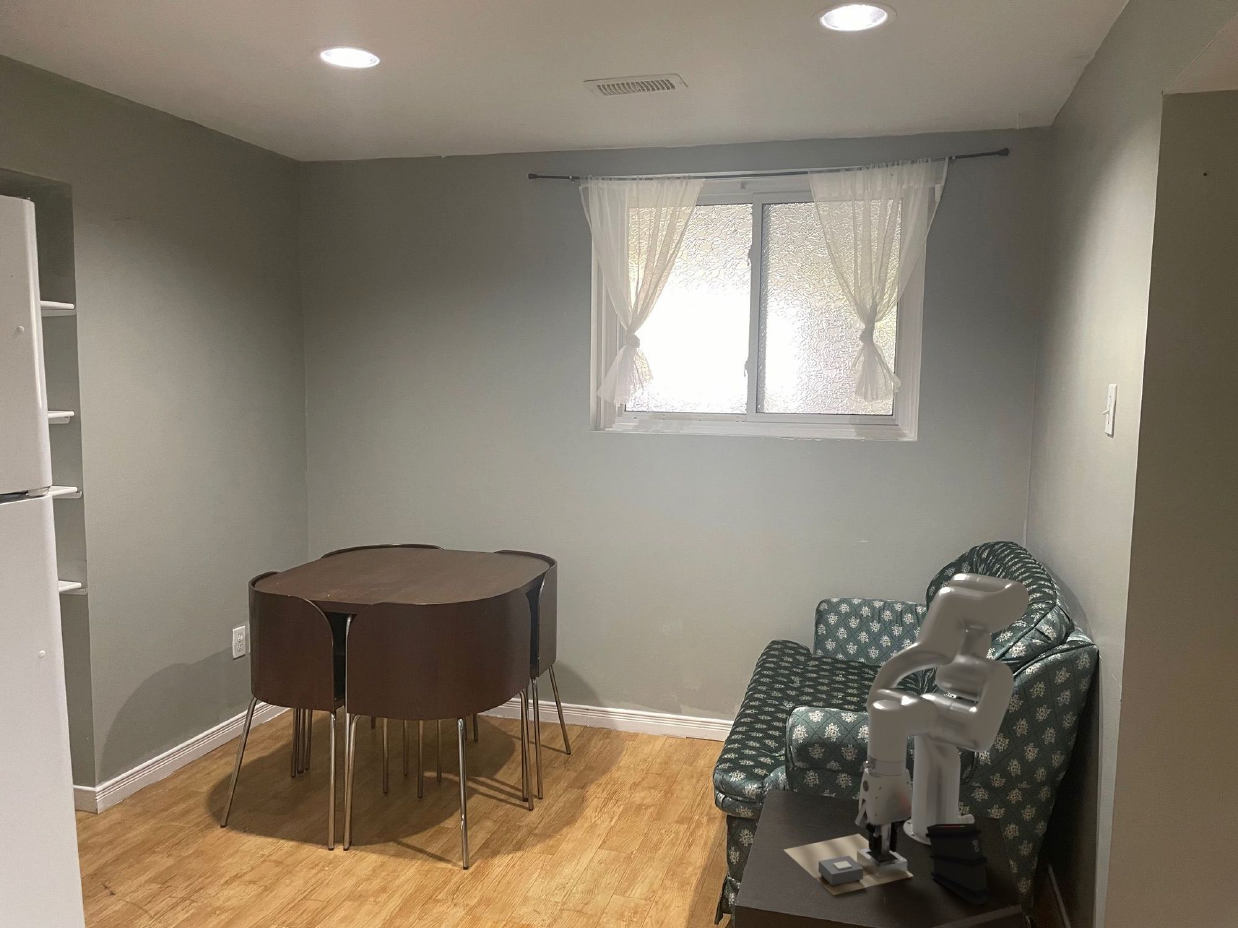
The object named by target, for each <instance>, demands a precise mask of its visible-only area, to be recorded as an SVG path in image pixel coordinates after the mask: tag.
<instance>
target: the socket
mask: <svg viewBox="0 0 1238 928" xmlns="http://www.w3.org/2000/svg"><path fill="white" fill-rule="evenodd" d="M857 863H859V864H860V865H861V866H862V867H864V868H865V869H866V870H867V871H869V872H870V873H871V874H872V875H873V876H875V877H876V878H877V879H882V878H886V877H890V876H894V875H899V874H903V873H907V871H908V860H907V859H906V858H905V857H903V856H901V855H900V854H899V853H898V852H897V851H896V852H892V851H890V861H887V862H883V863H879V862H878V861H876V860H875V859H874V853H873V852H872V851H871V850H870V849H869V848H865V849H861V850H857Z"/></svg>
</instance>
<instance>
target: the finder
mask: <svg viewBox="0 0 1238 928" xmlns="http://www.w3.org/2000/svg"><path fill="white" fill-rule="evenodd" d="M818 872H819V873H820V874H821V876H822V877H824V878H825V879H826V880H827V881H828V882H829V883H830V885H831V886H832V887H834V886H835V885H836V884H839V883H845V882H850V881H855V880H856V881H857V882H859V881H860V880H861V879H863V868H862V867H861V866H860V865H859V864H858V863H857V862H856V861H855V860H854V859H853V858H851V857H850V856H845V857H839V858H833V859H828V860H822V861H819V868H818Z"/></svg>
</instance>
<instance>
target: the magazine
mask: <svg viewBox="0 0 1238 928" xmlns="http://www.w3.org/2000/svg"><path fill="white" fill-rule="evenodd" d="M927 831H928V833H926V834H925V835H926V838H930V842H931V845H930V846H931V851H932V853H930V854H929V857H930V858H932V859H933V871H930V875H931V876H933V879H934V880H935V881H937V882H938V883H940V884H941V885H943V886H944V887H946V888H947V889H949V890H950V891H952V892H954V894H956V895H958V896H960V897H961V898H962V899H964V900H965V901H967V902H968V903H969V904H971V905H973V906H979V905H982V904H984V903H987V896H988V895H990V894H991V893H990V892H991V891H990V887H989V888H988V887H987V874H986V873H987V872H986V867H985V866H986V865H985V864H987V863H988V857H987V856H984V852H983V846H982V843H981V842H982V841H981V839H980V835H982V830H981V829H980V828H979V829H978V828H977V825H976V823H975V822H974V823H962V824H935V825H932V826H928V827H927Z"/></svg>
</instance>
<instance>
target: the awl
mask: <svg viewBox="0 0 1238 928" xmlns="http://www.w3.org/2000/svg"><path fill="white" fill-rule="evenodd" d="M880 836H881V837H882V847H881V855H880V856H877V855H876V854H875V853H874V859H875V860H876V861H878V862H879V863H883V862H887V861H890V841H891V823H887V824H882V825H881V827H880Z"/></svg>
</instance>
